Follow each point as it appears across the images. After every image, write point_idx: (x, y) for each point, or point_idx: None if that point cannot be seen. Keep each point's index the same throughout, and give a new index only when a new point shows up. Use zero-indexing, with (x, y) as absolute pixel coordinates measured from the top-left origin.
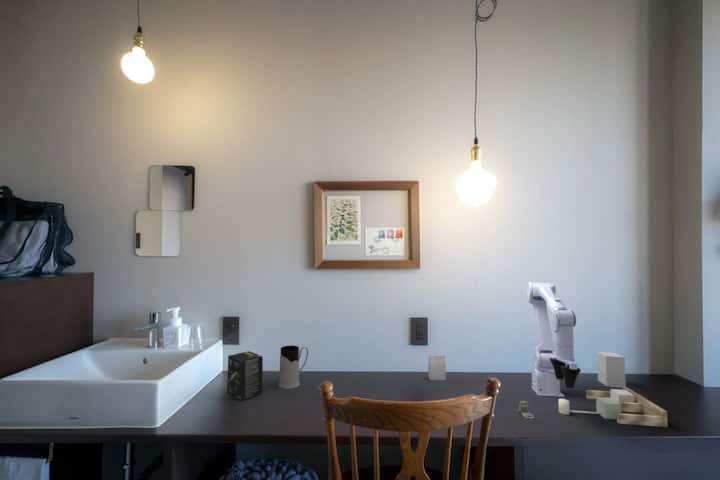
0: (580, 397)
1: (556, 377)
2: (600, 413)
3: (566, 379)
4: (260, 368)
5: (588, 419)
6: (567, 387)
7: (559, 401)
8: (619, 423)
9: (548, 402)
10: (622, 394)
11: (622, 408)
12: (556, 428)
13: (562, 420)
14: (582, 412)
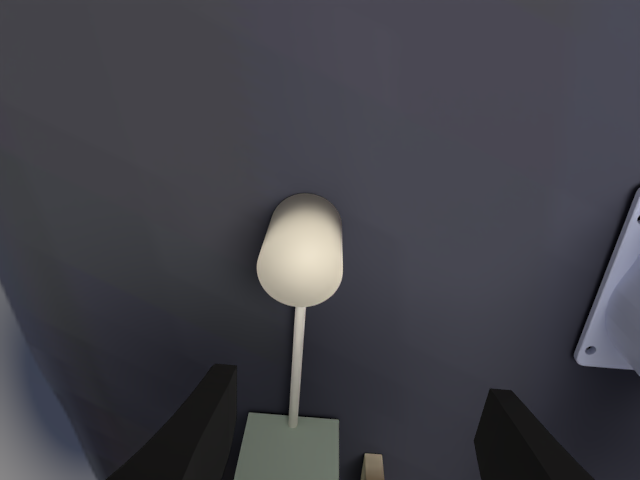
0: None
1: (503, 400)
2: (289, 422)
3: (153, 440)
4: None
5: (230, 326)
6: (210, 370)
7: (292, 228)
8: None
9: (496, 200)
10: None
11: None
12: (21, 32)
13: (178, 151)
14: (294, 337)
